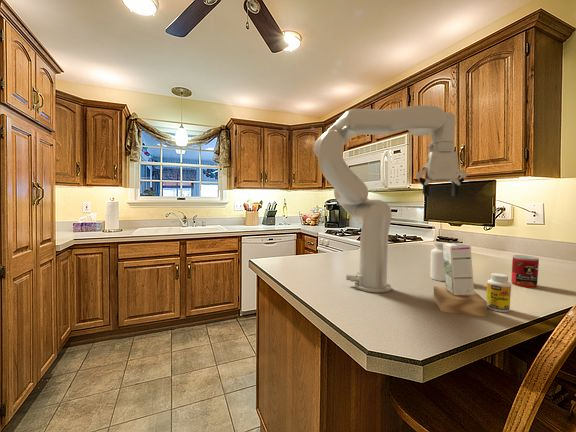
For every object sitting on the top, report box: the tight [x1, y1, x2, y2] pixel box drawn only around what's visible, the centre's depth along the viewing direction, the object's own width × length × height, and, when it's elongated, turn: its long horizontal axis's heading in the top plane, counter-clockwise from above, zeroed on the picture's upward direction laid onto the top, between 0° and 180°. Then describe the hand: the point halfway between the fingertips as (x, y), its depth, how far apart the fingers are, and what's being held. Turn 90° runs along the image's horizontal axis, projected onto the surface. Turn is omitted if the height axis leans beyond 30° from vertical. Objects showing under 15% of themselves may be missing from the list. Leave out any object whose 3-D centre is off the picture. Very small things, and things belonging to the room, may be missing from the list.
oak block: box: [432, 286, 487, 317], centre depth 83 cm, size 11×11×4 cm
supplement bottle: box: [485, 272, 512, 313], centre depth 82 cm, size 6×6×10 cm
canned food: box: [511, 254, 540, 289], centre depth 107 cm, size 8×8×11 cm
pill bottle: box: [429, 241, 448, 282], centre depth 114 cm, size 8×8×15 cm
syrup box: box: [443, 242, 475, 295], centre depth 83 cm, size 6×6×14 cm
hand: (440, 196), depth 102 cm, fingers open, 9 cm apart
